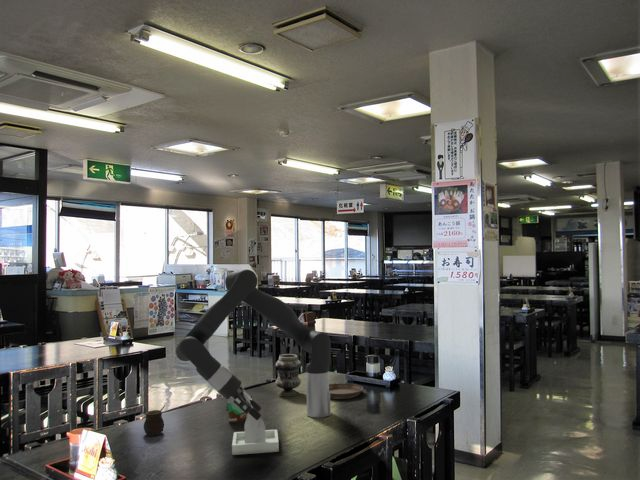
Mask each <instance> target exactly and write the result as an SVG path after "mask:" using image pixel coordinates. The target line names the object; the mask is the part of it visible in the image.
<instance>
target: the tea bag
mask: <svg viewBox="0 0 640 480" xmlns="http://www.w3.org/2000/svg"><path fill="white" fill-rule="evenodd" d="M244 421H245V422H244V432H245V443H260V442H266V438H265V430H266V424H265V422H264V420H263V417H262V416H261V417H260V418H259V419H258V420H256V419H255V418H253V417H252V416H251V415H250V414H249V413H247V414H246V420H244Z"/></svg>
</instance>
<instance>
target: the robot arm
mask: <svg viewBox="0 0 640 480" xmlns="http://www.w3.org/2000/svg"><path fill="white" fill-rule="evenodd" d="M224 279H225V281H224V283H225V284H224V285H225V288H226V290H227V292H226V293H225V294H224V295H223V296H221V298H220V299H218V300H217V301H216V302H215V303H213V304H212V305H211V306H210V307H209V308H208V309H206V311H205V312H203V314H202V315H201V316H200V318H199V319H198V320H197V321H196V323H195V324H194V326H193V327H192V328H191V330H189V332H188V333H187V334H186V335H185V336H184V337H183V338H182V339H181V341H179V343H178V344H177V346H176V348H175V354H176V355H175V356H176V358H178V359H179V360H180V361H182V362H190V363H191V364H192V365H193V366H194V367H195V370H196V372H197V373H198V374H199V376H201V377H202V378H203V379H204V380H205V381H206V382H207V383H208V384H209V385H210V387H212V388H213V389H214V390H215V391H216V393H218V394H219V395H220V396H221V397H224V398H223V399H224V400H226V399H229V398H230V397H233V398H234V399H235V400H234V403H235V404H236V405H237V406H239V407H240V408H241V409H242V410H243V411H244V412H245V413H246V415H248V413H249V414H250V415H251V416H252V417H253V418H255V419H256V420H258V419H259V418H260V417H262V414H261V413H260V411H261V410H262V407H261V405H259V404H258V403H257V401H255V400H254V397H253V396H252V395H251V394H250V393H248V392H247V391H246V390H245V388H244V387H243V386H241V385H242V381H241V379H239V378H238V377H237V376H236V375H235V374H233V372H232V371H231V370H229V369H228V368H227V367H226V366H224V365H222V364H221V363H220V362H219V361H218V360H217V359H216V358H215V357H214V356H212V354H211V353H210V351H209V350H208V349H207V348H206V346H205V345H204V344H205V343H206V342H207V341H208V340H209V339H211V337H212V336H213V335H214V334H215V333H216V331H217V330H218V329H219V327H220V326H221V325H222V324H223V322H224V321H225V320H226V319H227V318H228V317H229V315H230V314H231V313H232V312H233V311H234V310H235V308H237V307H238V306H239V305H240V304H241V303H242V302H243V303H245V304H247V305H249V307H251V308H252V309H253V310H255V311H256V312H257V313H258V314H260V315H261V316H262V317H263V318H264V319H266V320H267V321H268V322H269V323H271V324H272V325H273V326H274V327H276V328H277V329H279V330H280V331H281V332H282V333H285V335H288V336H289V337H290V338H291V339H292V340H294V341H295V342H296V343H297V344H298V345H299V347H301V349H303V351H305V352H306V353H308V354H311V361H310V362H309V363H306V365H305V379H306V380H305V382H306V383H305V384H306V386H305V387H306V388H305V389H306V416H308V417H309V418H310V417H311V418H318V419H319V418H325V417H330V416H331V415H332V413H331V411H332V409H331V408H332V407H331V398H330V391H329V384H330V365H331V359H332V358H331V356H332V355H331V354H332V353H331V351H332V347H331V346H332V345H331V344H332V343H331V339H330V336H329V335H328V334H327V333H326V332H323V331H317V330H314V329H311V328H309V327H308V326H306V325H305V324H303V323H302V321H300V320H299V318H298V316H297V314H296V312H295V311H294V310H293V309H292V308H291V307H290V306H289V305H288V304H287V303H285V302H284V301H283V300H282V299H279V298H277V297H275V296H273V295H271V294H269V293H266V292H264V291H262V290H260V289H259V288H257V287H258V277H257V274H256V273H255V272H254V271H252V270H251V269H248V268H247V269H245V268H244V269H240V270H235V271H232V272H230V273H229V274H227V275H226V277H225V278H224ZM246 407H247V409H246Z"/></svg>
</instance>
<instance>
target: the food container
mask: <svg viewBox="0 0 640 480" xmlns="http://www.w3.org/2000/svg"><path fill="white" fill-rule="evenodd" d="M234 400H235V399H234V398H233V397H231V398H229V399H227V403H228V407H227V409H228V410H227V411H228V423H229V424H236V423H241V422H244V421H246V419H247V414H246V413H245V412H244V411H243V410H242V409H241V408H240V407H239V406H237V405H236V404H235V403H234ZM247 407H248V406H247ZM247 407H246V409H247Z"/></svg>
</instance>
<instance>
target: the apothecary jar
mask: <svg viewBox="0 0 640 480" xmlns="http://www.w3.org/2000/svg"><path fill="white" fill-rule="evenodd" d="M301 365H302V363H301V361H300V360H299V359H298V355H296V354H294V353H284V354H279V357H278V360H277V361H276V362H275V367H276V368H277V378H276V379H275V385H276V386H277V387H278V388H280V389H283V390H281V391H279V392H278V393H277V396H280V397H283V398H284V397H286V398H287V397H296V396H299V394H300V393H299V391H297V390H295V389H296V388H299V386H300V385H301V383H302V380H301V378H300V377H299V368H300V366H301Z"/></svg>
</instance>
